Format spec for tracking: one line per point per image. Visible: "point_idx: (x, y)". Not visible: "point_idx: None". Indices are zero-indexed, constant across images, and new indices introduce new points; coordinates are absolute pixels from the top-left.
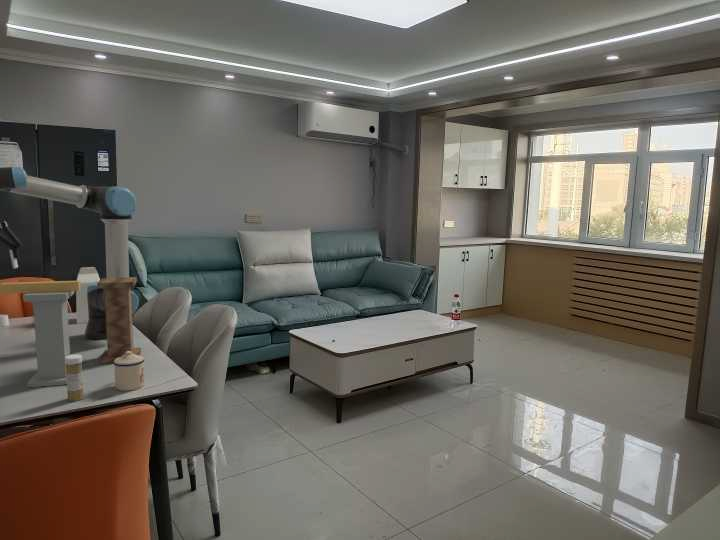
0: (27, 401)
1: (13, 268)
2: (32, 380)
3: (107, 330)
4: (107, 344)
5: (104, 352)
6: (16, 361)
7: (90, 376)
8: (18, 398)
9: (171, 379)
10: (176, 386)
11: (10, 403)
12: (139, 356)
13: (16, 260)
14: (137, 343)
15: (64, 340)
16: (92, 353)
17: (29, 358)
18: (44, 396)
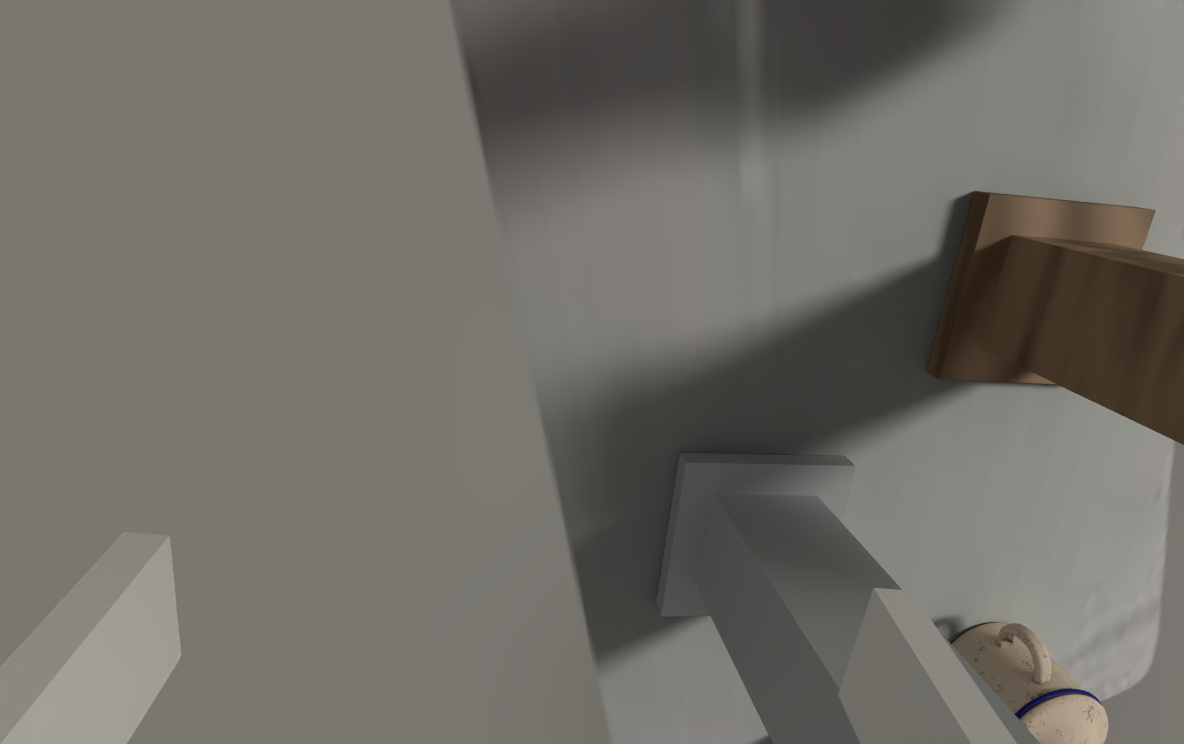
0: (671, 724)
1: (842, 694)
2: (676, 591)
3: (1098, 401)
4: (1030, 371)
5: (980, 249)
6: (540, 181)
7: (874, 528)
8: (639, 694)
9: (1113, 625)
10: (1103, 689)
11: (621, 730)
12: (1100, 737)
13: (971, 699)
14: (1169, 11)
15: None
16: (918, 155)
17: (601, 139)
18: (720, 693)
